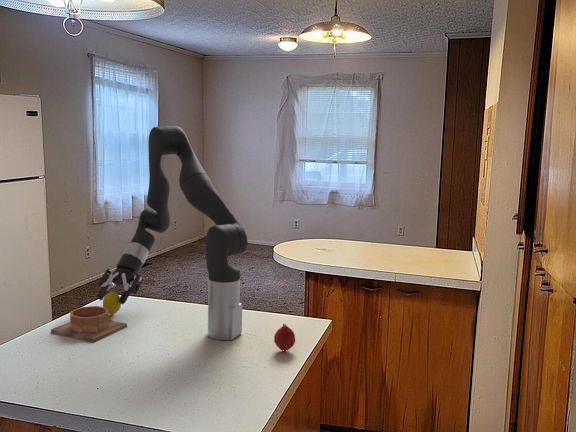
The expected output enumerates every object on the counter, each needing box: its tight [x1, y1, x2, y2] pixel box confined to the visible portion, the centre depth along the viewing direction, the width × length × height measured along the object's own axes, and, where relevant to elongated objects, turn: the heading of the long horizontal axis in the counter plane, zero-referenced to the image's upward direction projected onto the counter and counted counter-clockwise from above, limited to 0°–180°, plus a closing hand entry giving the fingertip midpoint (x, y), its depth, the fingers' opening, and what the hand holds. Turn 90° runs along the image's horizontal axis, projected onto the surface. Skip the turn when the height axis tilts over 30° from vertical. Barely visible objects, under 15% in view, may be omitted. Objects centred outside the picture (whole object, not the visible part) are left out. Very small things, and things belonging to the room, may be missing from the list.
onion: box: [273, 323, 296, 352], centre depth 145 cm, size 6×6×8 cm
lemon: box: [102, 291, 122, 316], centre depth 169 cm, size 6×6×8 cm
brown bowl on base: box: [50, 305, 128, 343], centre depth 156 cm, size 16×14×6 cm
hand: (109, 301), depth 168 cm, fingers open, 8 cm apart
